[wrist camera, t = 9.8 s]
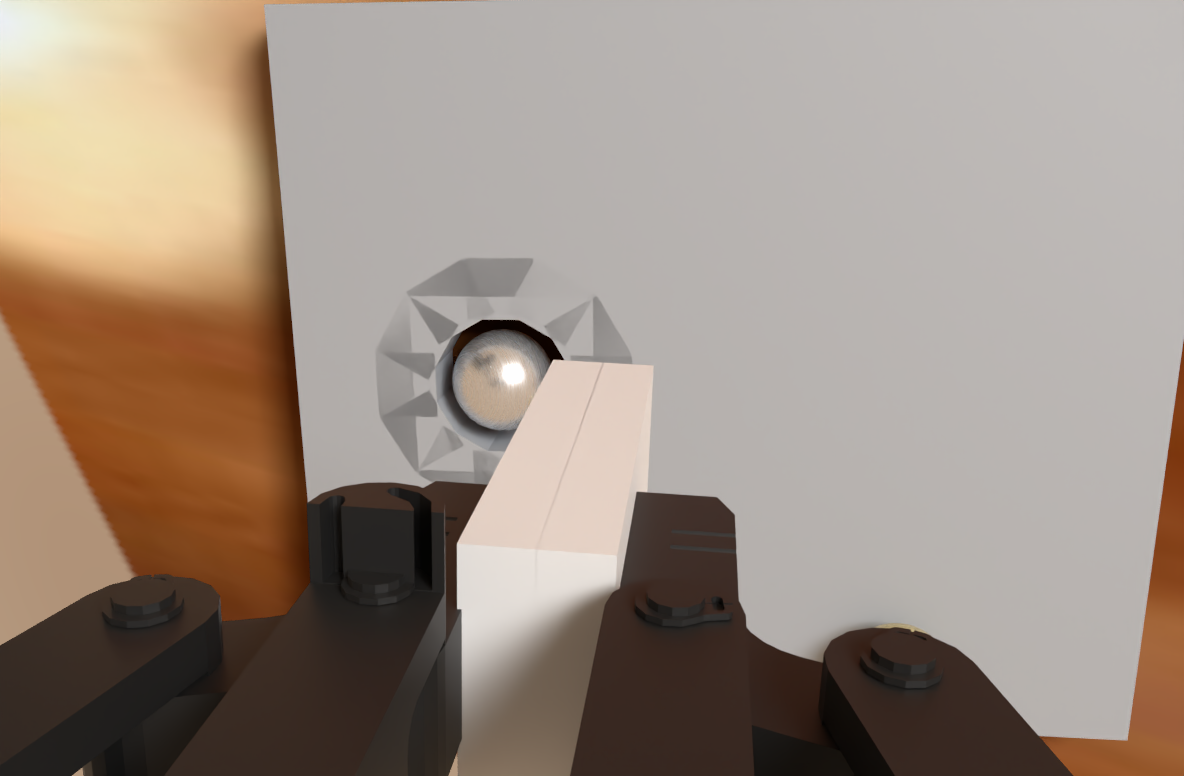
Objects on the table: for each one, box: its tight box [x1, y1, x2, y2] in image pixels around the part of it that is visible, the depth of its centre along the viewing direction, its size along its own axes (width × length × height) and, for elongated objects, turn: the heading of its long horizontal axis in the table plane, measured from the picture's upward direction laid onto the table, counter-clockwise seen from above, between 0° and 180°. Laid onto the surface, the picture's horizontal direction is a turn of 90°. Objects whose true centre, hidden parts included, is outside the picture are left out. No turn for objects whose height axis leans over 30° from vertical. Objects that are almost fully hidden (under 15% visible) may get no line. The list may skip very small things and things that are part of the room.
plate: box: [264, 0, 1184, 740], centre depth 37 cm, size 28×24×2 cm
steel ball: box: [452, 329, 551, 430], centre depth 37 cm, size 3×3×3 cm
